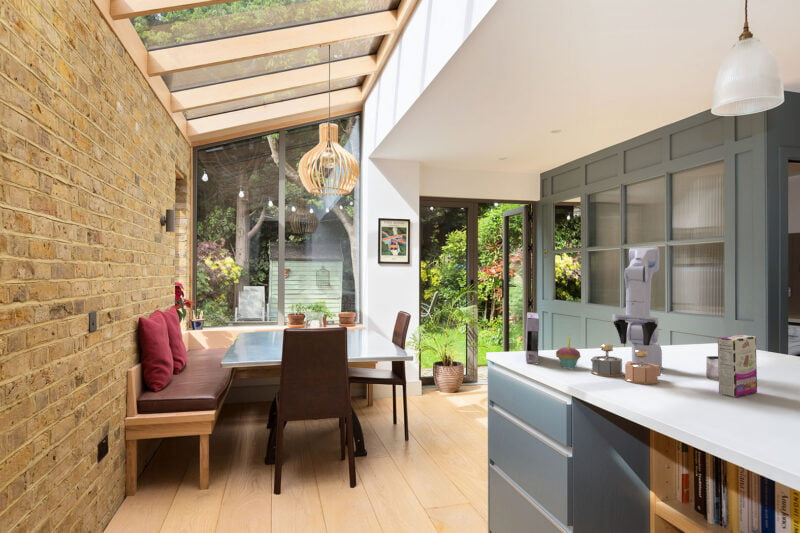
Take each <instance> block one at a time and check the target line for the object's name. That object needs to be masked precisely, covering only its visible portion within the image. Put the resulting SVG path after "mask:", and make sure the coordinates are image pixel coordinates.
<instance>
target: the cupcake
mask: <svg viewBox="0 0 800 533" xmlns="http://www.w3.org/2000/svg"><path fill="white" fill-rule="evenodd" d="M567 339H568V340H567V347H565V346H564V347H561V348H559V349H558V350H556V351H555V352H556V353H555V355H556V356H555V357H556V358H558V360H559V362H560V365H561V367H562V368H564V369H574V368H576V366H577V363H578V361H579V359H580V358H581V353H580V351H579V350H578V349H576V348H573V347H571V335H570V334H569V335H568V338H567Z"/></svg>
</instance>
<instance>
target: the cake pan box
mask: <svg viewBox="0 0 800 533" xmlns="http://www.w3.org/2000/svg"><path fill="white" fill-rule="evenodd" d="M525 324H526V326H525V327H526V328H525V329H526V330H525V363H526V362H527V363H526V364H531V363H538V364H539V332H540V317H539V314H538V313H537V312H526V323H525Z"/></svg>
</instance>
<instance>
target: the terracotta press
mask: <svg viewBox="0 0 800 533" xmlns="http://www.w3.org/2000/svg"><path fill="white" fill-rule="evenodd" d="M633 364H640V362H632V360H631V361H627V362H626V363H625V365H624V366H625V367H624V371H625V372H624V375H625V376H623V380H624V381H625V382H627V383H631V384H635V385H636V384H637V385H647V386H649V385H658V384H660V383H661V382H660V379H658V378H659V377H661V369H660V365H655V364H651V363H644V362H643V364H646V365H650V367H638V366H633Z"/></svg>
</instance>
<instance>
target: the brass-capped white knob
mask: <svg viewBox="0 0 800 533" xmlns="http://www.w3.org/2000/svg"><path fill="white" fill-rule="evenodd" d="M635 356H637V357H640V364H633V366H638V367H650V365H646V364H643V357H648V351H647V350H635Z"/></svg>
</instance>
